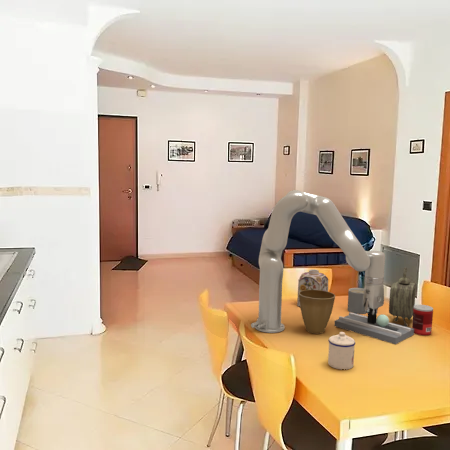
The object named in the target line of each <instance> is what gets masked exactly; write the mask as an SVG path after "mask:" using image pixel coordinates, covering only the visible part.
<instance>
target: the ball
mask: <svg viewBox="0 0 450 450" xmlns="http://www.w3.org/2000/svg"><path fill="white" fill-rule="evenodd" d="M376 321H377V324H378V325H379V326H382V327H384V326H387V325H388V323H389V322H390V319H389V317H388V315H385V314H379V315H377V316H376Z"/></svg>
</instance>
